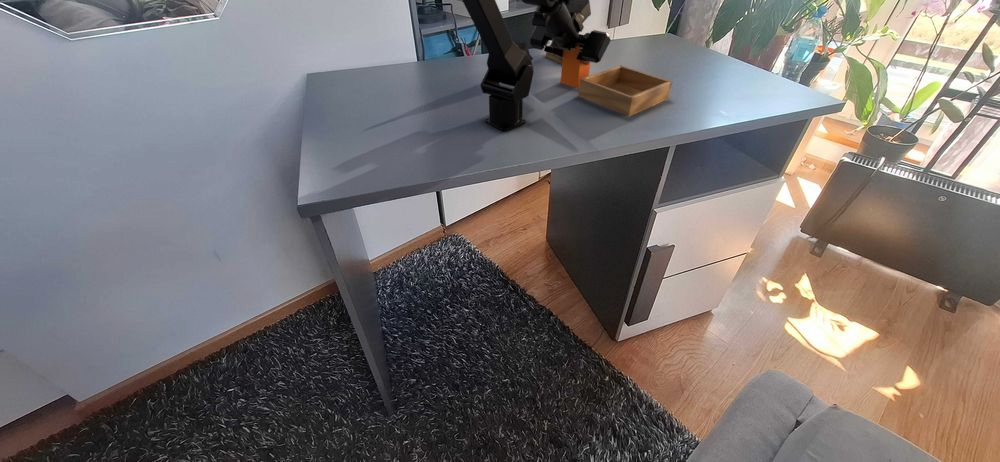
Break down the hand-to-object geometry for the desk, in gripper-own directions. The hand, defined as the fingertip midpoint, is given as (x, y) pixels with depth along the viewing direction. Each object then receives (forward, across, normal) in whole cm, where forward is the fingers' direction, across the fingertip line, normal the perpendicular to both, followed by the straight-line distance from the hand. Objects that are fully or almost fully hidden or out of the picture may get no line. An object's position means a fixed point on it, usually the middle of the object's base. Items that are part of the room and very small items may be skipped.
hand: (579, 60), depth 102 cm
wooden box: (+2, -14, +6) cm, 15 cm away
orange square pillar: (+3, 0, +5) cm, 6 cm away
